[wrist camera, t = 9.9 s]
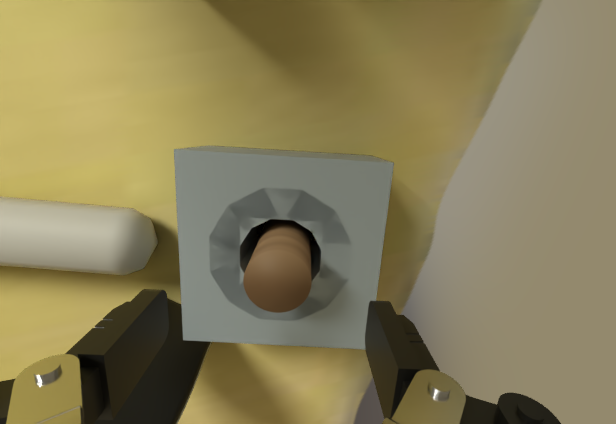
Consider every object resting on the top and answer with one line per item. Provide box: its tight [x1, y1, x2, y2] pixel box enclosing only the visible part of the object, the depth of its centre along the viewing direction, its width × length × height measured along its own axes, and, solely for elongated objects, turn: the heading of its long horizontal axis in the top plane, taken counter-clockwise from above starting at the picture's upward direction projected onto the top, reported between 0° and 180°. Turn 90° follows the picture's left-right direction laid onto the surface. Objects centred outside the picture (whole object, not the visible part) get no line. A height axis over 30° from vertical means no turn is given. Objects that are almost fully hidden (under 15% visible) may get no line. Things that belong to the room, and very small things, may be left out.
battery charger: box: [94, 299, 212, 424], centre depth 20 cm, size 7×4×11 cm, turn 61°
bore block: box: [174, 146, 394, 349], centre depth 21 cm, size 12×12×6 cm
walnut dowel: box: [243, 219, 312, 313], centre depth 19 cm, size 3×3×9 cm
